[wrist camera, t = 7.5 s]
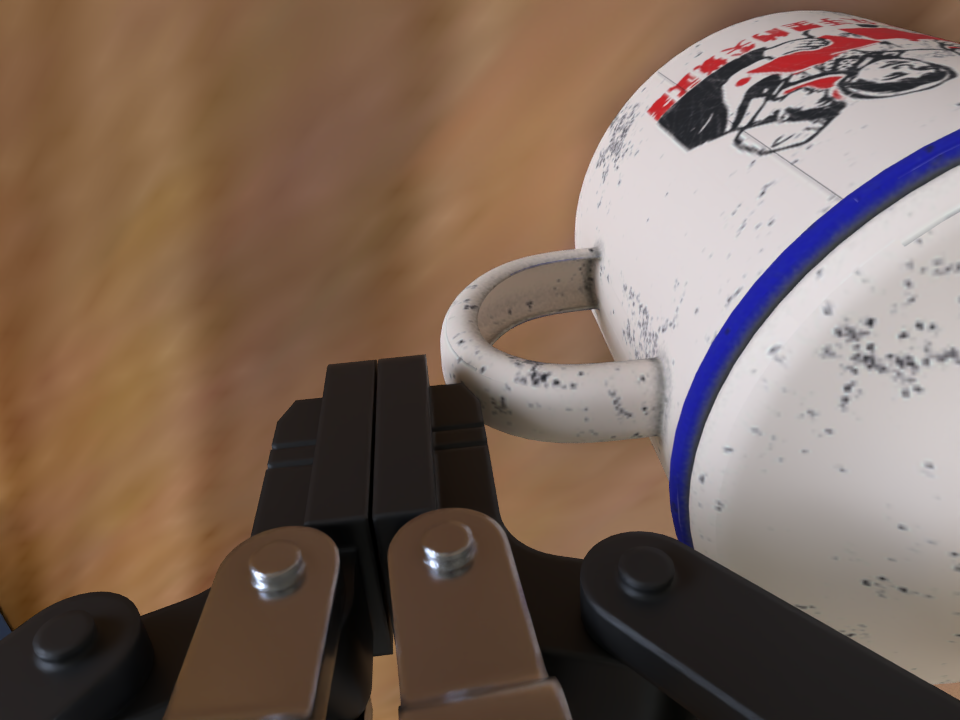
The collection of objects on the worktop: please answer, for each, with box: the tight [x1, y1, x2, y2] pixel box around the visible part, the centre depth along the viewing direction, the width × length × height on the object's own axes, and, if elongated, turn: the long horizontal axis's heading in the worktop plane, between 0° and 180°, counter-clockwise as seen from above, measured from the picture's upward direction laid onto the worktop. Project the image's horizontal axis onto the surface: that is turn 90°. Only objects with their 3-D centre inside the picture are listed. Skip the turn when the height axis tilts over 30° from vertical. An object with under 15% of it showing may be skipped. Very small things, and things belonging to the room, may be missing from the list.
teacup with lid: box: [440, 11, 960, 684], centre depth 12 cm, size 12×9×12 cm
